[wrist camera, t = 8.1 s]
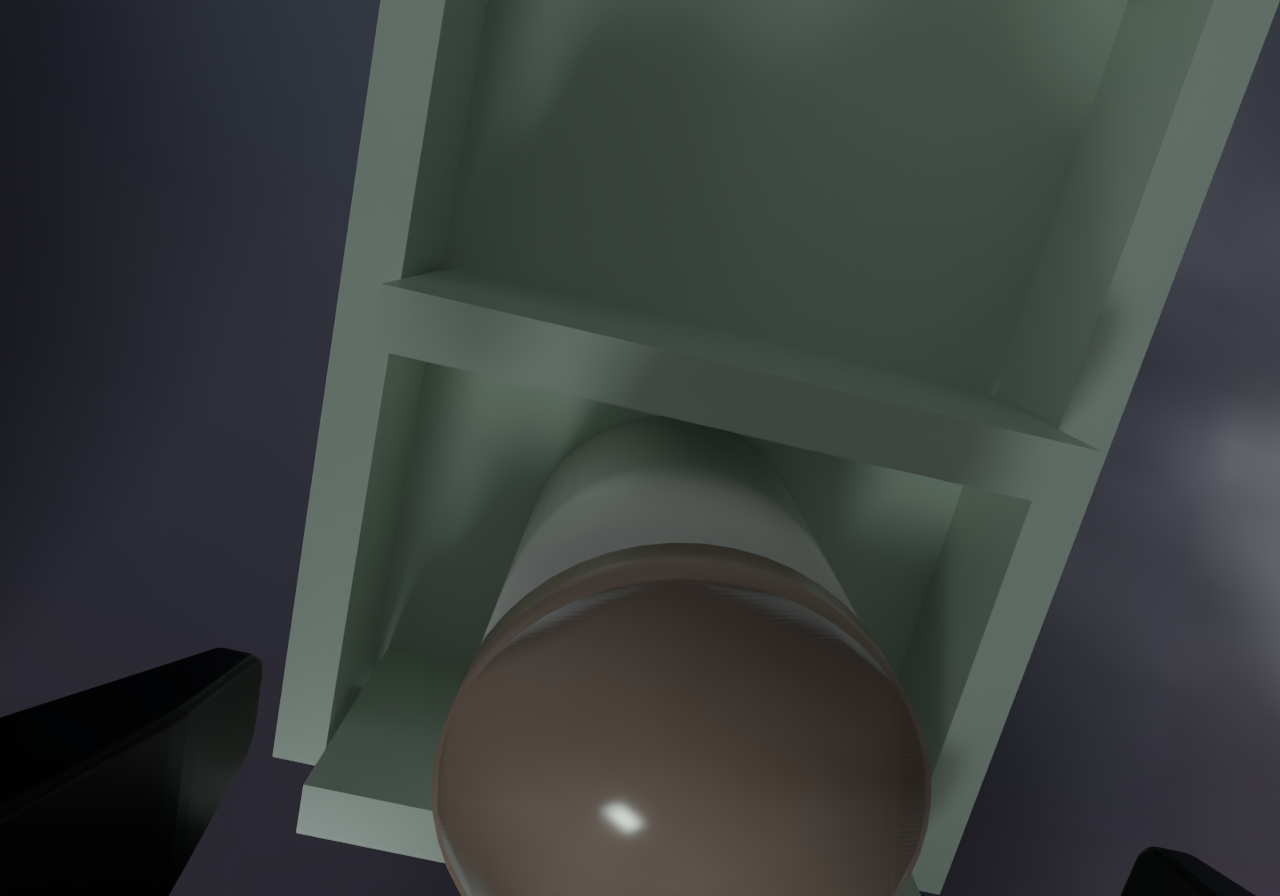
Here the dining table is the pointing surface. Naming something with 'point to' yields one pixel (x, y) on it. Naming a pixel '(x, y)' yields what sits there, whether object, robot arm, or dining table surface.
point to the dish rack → (742, 324)
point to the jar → (677, 695)
